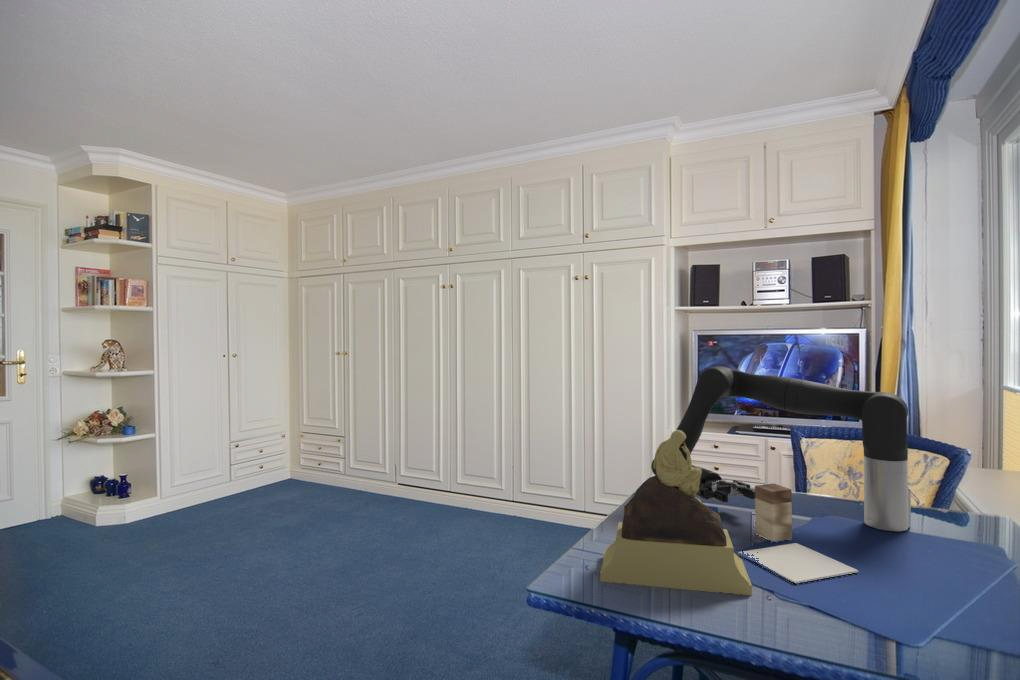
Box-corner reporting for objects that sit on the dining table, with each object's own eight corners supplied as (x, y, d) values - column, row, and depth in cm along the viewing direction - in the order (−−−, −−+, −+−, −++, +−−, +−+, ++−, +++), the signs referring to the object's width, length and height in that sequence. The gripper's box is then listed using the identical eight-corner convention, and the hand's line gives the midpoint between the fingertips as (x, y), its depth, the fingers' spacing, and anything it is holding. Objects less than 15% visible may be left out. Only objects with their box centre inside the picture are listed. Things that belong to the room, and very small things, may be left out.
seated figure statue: (741, 568, 119) (740, 425, 118) (752, 596, 106) (750, 436, 106) (605, 557, 125) (604, 421, 125) (600, 582, 113) (598, 431, 113)
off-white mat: (796, 545, 130) (796, 542, 130) (858, 573, 115) (858, 570, 115) (738, 554, 125) (738, 552, 125) (795, 584, 110) (795, 581, 110)
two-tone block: (774, 532, 139) (773, 483, 139) (791, 540, 134) (791, 489, 134) (755, 535, 138) (754, 485, 137) (772, 543, 132) (772, 491, 132)
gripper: (679, 470, 160) (717, 484, 144) (722, 466, 164) (763, 480, 148) (680, 496, 160) (717, 514, 144) (722, 492, 164) (763, 508, 148)
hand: (740, 496), depth 146 cm, fingers open, 8 cm apart
